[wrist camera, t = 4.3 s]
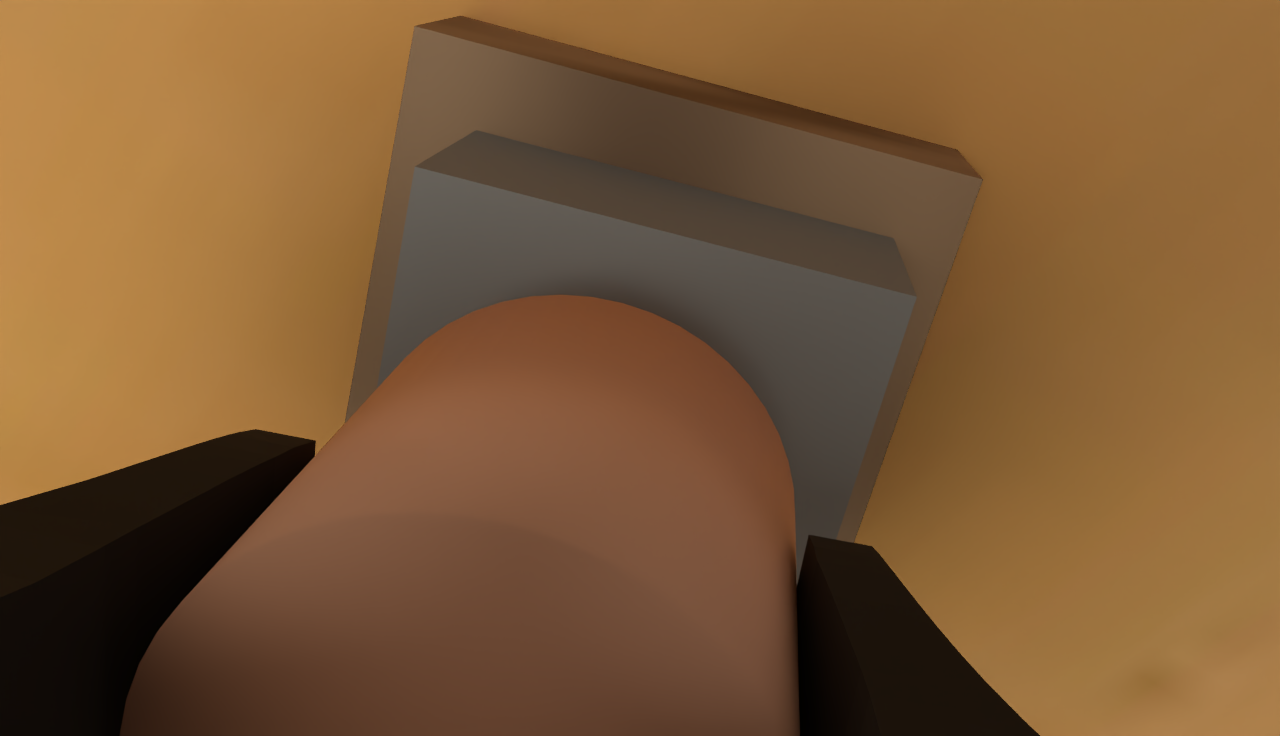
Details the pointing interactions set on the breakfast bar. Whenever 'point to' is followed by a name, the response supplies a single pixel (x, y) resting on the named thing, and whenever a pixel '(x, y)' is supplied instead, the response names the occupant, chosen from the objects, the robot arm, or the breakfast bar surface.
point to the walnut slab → (675, 167)
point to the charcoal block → (670, 287)
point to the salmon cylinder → (509, 552)
